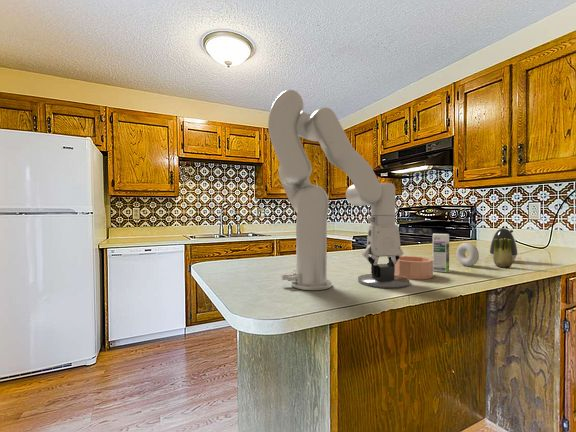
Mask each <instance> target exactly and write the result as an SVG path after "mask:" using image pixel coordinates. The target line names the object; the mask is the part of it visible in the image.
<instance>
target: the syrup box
mask: <svg viewBox="0 0 576 432" xmlns="http://www.w3.org/2000/svg"><path fill="white" fill-rule="evenodd" d="M432 260H433V272H438V273H439V272H440V273H448V274H449V273H450V234H449V233H432Z"/></svg>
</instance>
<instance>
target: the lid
mask: <svg viewBox="0 0 576 432" xmlns="http://www.w3.org/2000/svg"><path fill="white" fill-rule="evenodd" d="M377 265H379V277H378V278H376V277H374V276H372V273H366V274H361V275H359V276H358V277H357V282H358V283H359V284H361V285H363V286H367V287H372V288H377V289H390V290H391V289H392V290H393V289H402V288H408V287H409V286H410V279H406V278H404V277H400V276H396V275H394V266H391V265H388V264H387V263H377Z"/></svg>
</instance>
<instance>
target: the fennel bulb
mask: <svg viewBox="0 0 576 432" xmlns="http://www.w3.org/2000/svg"><path fill="white" fill-rule="evenodd" d="M511 242H512V240H510V239H508V240H507V239H506V238H504V244H503V239H499V248H498V240H497V239H494V254H493V257H494V259H493V263H494V265H495V267H499V268H503V269H505V268H506V269H508V268H510V267H511V266H512V265H513V261H514V260H513V259H512V252H511ZM502 247H503V248H502Z"/></svg>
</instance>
